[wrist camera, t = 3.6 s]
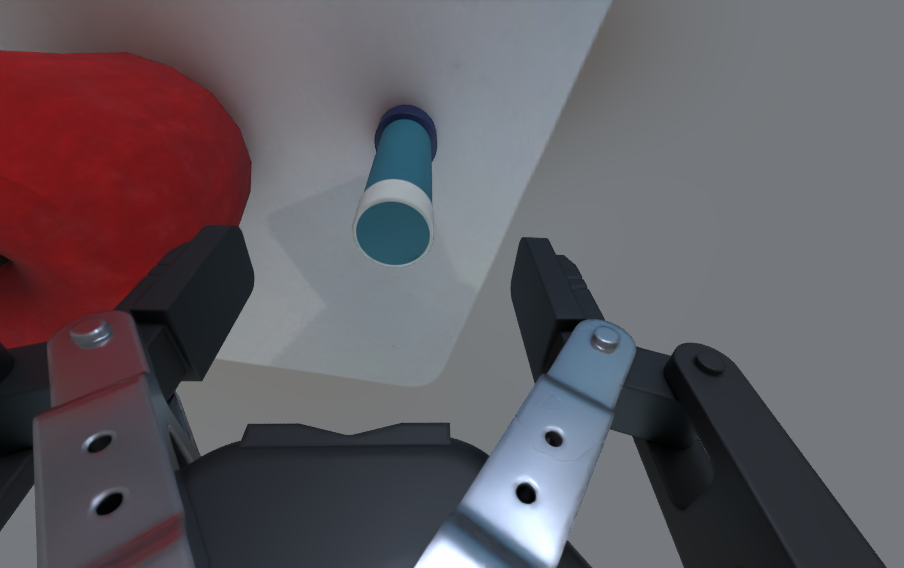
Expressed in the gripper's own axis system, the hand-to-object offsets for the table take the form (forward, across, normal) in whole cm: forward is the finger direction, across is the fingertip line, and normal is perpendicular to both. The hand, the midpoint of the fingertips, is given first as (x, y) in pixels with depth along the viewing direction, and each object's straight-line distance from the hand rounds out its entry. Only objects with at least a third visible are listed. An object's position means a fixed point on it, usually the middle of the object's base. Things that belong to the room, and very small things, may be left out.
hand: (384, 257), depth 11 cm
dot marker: (+12, 0, 0) cm, 12 cm away
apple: (+12, +12, +1) cm, 17 cm away
